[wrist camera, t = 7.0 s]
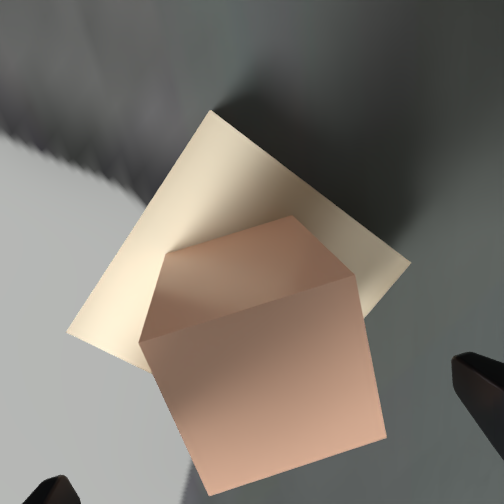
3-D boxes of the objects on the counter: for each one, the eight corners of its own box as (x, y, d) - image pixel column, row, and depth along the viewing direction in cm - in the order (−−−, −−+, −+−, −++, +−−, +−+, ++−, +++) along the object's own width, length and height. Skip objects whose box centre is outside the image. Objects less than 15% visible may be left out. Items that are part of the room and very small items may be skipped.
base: (378, 241, 18) (411, 262, 15) (259, 387, 20) (268, 430, 17) (208, 113, 15) (210, 109, 12) (88, 298, 17) (65, 332, 14)
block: (292, 215, 14) (355, 274, 8) (319, 324, 15) (386, 437, 10) (165, 254, 13) (138, 342, 8) (207, 360, 15) (209, 496, 10)
